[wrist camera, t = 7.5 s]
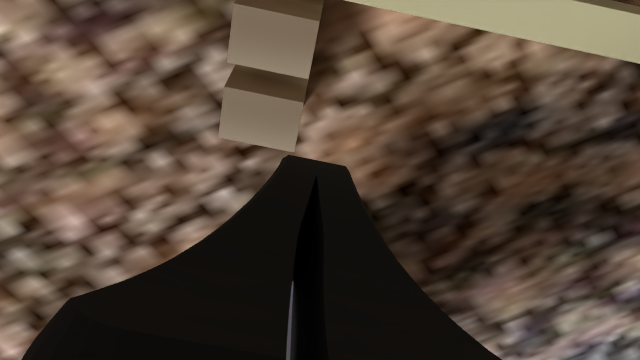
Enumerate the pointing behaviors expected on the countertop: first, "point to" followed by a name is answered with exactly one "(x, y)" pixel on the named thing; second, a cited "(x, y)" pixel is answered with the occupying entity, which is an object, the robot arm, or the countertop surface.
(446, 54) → the countertop surface
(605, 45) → the pale yellow bar
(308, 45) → the comb
